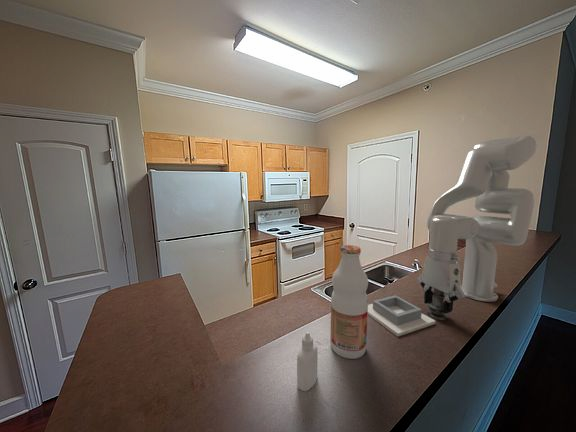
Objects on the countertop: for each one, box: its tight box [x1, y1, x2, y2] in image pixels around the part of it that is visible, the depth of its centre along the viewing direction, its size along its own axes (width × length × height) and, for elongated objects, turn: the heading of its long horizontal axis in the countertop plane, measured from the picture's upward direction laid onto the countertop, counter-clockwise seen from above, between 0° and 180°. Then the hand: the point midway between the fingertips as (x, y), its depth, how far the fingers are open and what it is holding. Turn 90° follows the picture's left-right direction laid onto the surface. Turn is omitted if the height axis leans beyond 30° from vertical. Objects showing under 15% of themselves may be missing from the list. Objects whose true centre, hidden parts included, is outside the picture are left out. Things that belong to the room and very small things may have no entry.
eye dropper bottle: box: [296, 331, 318, 392], centre depth 50 cm, size 4×6×12 cm
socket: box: [367, 294, 436, 337], centre depth 76 cm, size 16×16×4 cm
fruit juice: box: [329, 244, 369, 360], centre depth 60 cm, size 9×9×28 cm
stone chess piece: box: [426, 288, 447, 321], centre depth 76 cm, size 6×6×12 cm
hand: (437, 306), depth 76 cm, fingers closed on stone chess piece, 5 cm apart
